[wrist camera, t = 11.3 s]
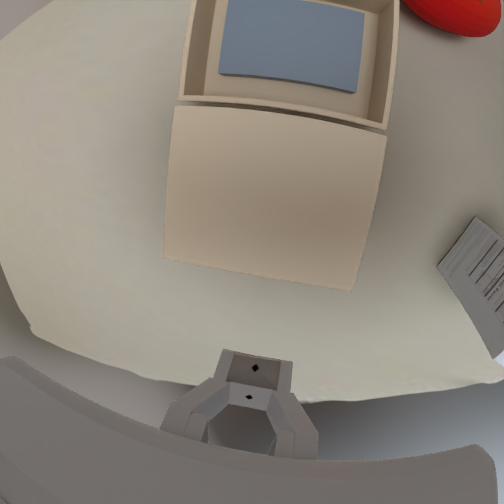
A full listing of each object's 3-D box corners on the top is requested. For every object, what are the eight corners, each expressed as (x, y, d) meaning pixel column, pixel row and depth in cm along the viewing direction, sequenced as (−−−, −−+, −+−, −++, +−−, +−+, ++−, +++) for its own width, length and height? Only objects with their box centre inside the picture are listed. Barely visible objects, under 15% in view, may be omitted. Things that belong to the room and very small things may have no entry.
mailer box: (381, 13, 18) (399, -5, 13) (369, 126, 25) (386, 130, 20) (215, -8, 19) (197, -29, 14) (199, 102, 26) (177, 100, 21)
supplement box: (434, 266, 31) (490, 360, 16) (474, 213, 27) (554, 287, 12) (467, 295, 32) (514, 378, 17) (503, 249, 28) (566, 321, 13)
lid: (352, 291, 25) (350, 288, 25) (387, 136, 19) (384, 136, 20) (163, 258, 26) (166, 255, 27) (174, 105, 21) (178, 106, 21)
